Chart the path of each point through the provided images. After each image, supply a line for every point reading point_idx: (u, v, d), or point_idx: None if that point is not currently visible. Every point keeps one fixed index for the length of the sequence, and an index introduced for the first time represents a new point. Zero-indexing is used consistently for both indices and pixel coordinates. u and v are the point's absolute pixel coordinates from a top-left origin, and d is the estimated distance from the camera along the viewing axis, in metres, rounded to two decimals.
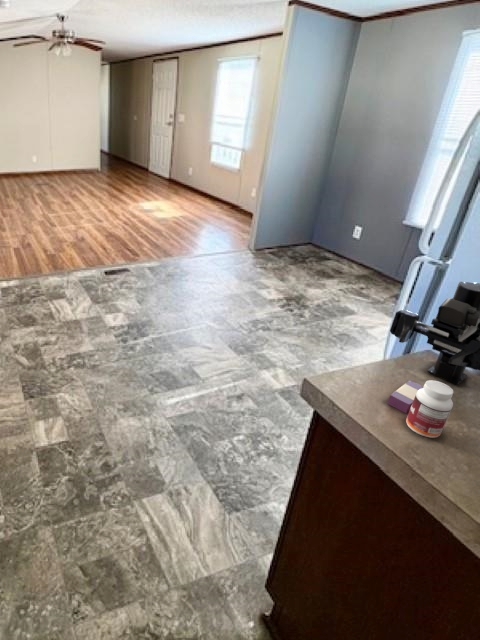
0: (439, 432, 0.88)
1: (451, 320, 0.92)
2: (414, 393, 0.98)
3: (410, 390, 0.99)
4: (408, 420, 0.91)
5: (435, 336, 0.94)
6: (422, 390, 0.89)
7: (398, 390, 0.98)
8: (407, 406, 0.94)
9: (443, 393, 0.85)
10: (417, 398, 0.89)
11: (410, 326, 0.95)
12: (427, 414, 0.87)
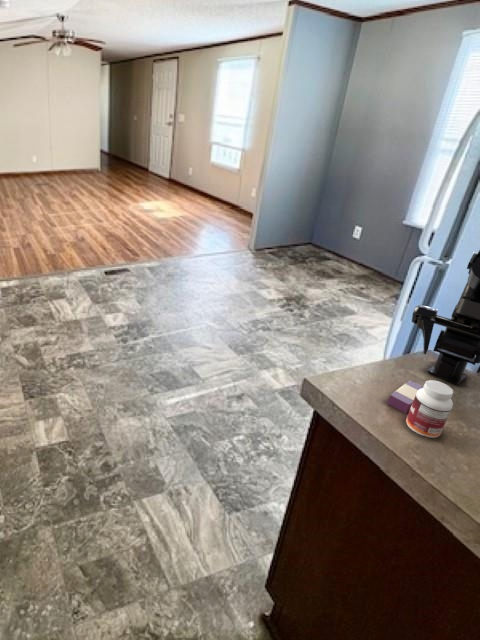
0: (439, 432, 0.88)
1: (471, 316, 0.89)
2: (414, 393, 0.98)
3: (410, 390, 0.99)
4: (408, 420, 0.91)
5: (458, 329, 0.92)
6: (422, 390, 0.89)
7: (398, 390, 0.98)
8: (407, 406, 0.94)
9: (443, 393, 0.85)
10: (417, 398, 0.89)
11: (431, 330, 0.94)
12: (427, 414, 0.87)
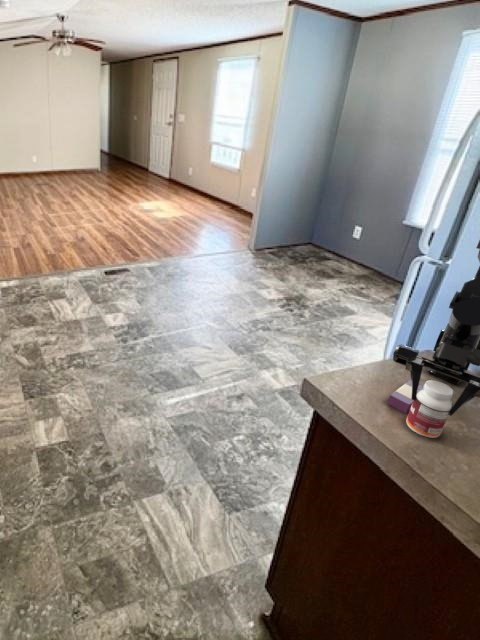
0: (439, 432, 0.88)
1: None
2: None
3: (410, 390, 0.99)
4: (408, 420, 0.91)
5: (440, 371, 0.89)
6: (422, 390, 0.89)
7: (398, 390, 0.98)
8: (407, 406, 0.94)
9: (443, 394, 0.85)
10: (417, 398, 0.89)
11: (419, 374, 0.90)
12: (427, 414, 0.87)
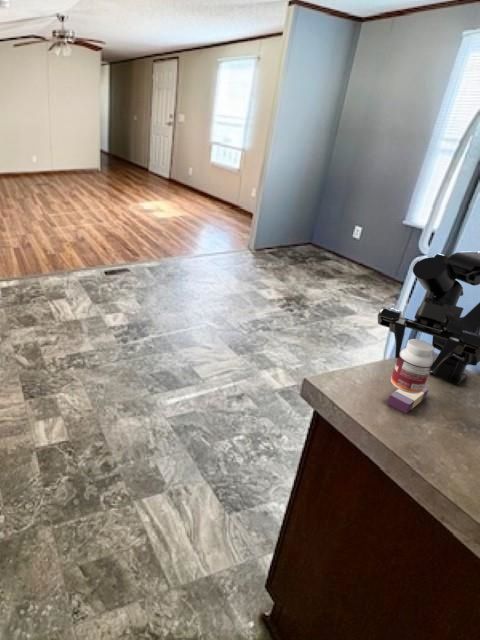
0: (421, 388, 0.92)
1: (433, 318, 0.90)
2: None
3: None
4: (393, 378, 0.95)
5: (421, 330, 0.93)
6: (405, 348, 0.93)
7: (398, 390, 0.98)
8: (407, 406, 0.94)
9: (424, 350, 0.89)
10: (400, 356, 0.93)
11: (402, 334, 0.94)
12: (410, 371, 0.91)
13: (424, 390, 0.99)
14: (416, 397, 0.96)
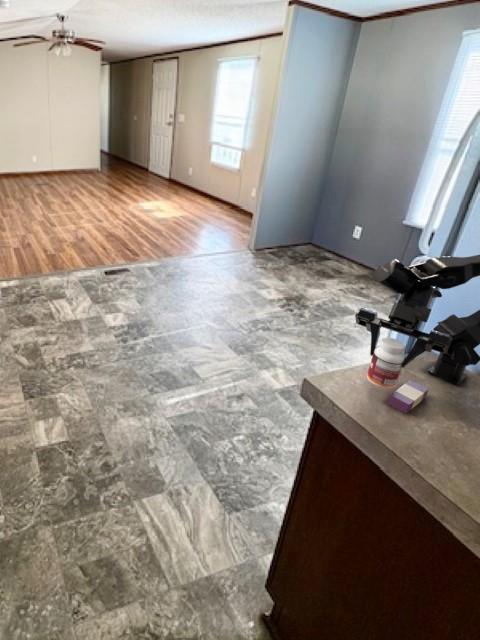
0: (394, 383, 0.99)
1: (404, 318, 0.97)
2: (414, 393, 0.98)
3: (410, 390, 0.99)
4: (368, 374, 1.02)
5: (395, 330, 1.01)
6: (379, 346, 1.00)
7: (398, 390, 0.98)
8: (407, 406, 0.94)
9: (395, 348, 0.96)
10: (374, 353, 1.00)
11: (377, 333, 1.01)
12: (383, 367, 0.98)
13: (424, 390, 0.99)
14: (416, 397, 0.96)
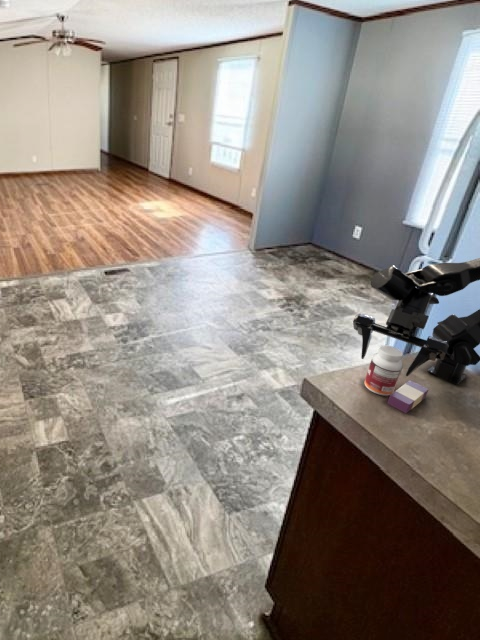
0: (391, 390, 1.00)
1: None
2: (414, 393, 0.98)
3: (410, 390, 0.99)
4: (366, 381, 1.03)
5: (392, 336, 1.01)
6: (377, 354, 1.01)
7: (398, 390, 0.98)
8: (407, 406, 0.94)
9: (393, 355, 0.97)
10: (372, 361, 1.01)
11: (368, 336, 1.03)
12: (381, 374, 0.99)
13: (424, 390, 0.99)
14: (416, 397, 0.96)
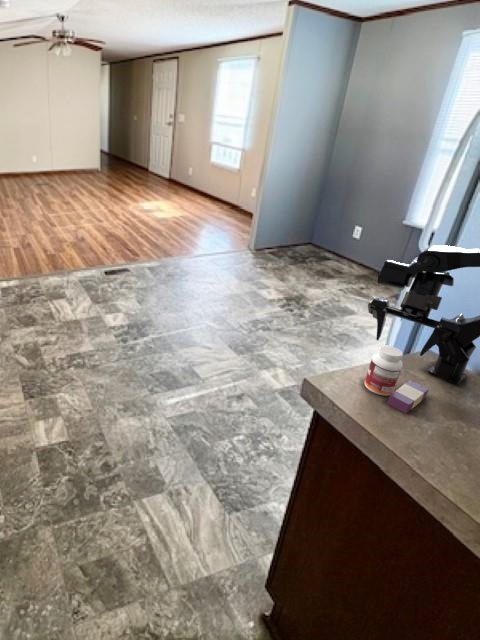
0: (391, 390, 1.00)
1: (415, 307, 1.02)
2: (414, 393, 0.98)
3: (410, 390, 0.99)
4: (366, 381, 1.03)
5: (406, 318, 1.06)
6: (377, 354, 1.01)
7: (398, 390, 0.98)
8: (407, 406, 0.94)
9: (393, 355, 0.97)
10: (372, 361, 1.01)
11: (382, 319, 1.07)
12: (381, 374, 0.99)
13: (424, 390, 0.99)
14: (416, 397, 0.96)
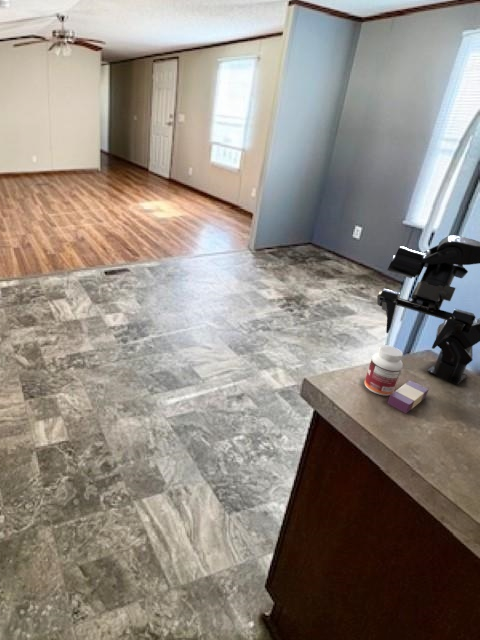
0: (391, 390, 1.00)
1: (427, 298, 0.98)
2: (414, 393, 0.98)
3: (410, 390, 0.99)
4: (366, 381, 1.03)
5: (417, 310, 1.02)
6: (377, 354, 1.01)
7: (398, 390, 0.98)
8: (407, 406, 0.94)
9: (393, 355, 0.97)
10: (372, 361, 1.01)
11: (393, 311, 1.03)
12: (381, 374, 0.99)
13: (424, 390, 0.99)
14: (416, 397, 0.96)
